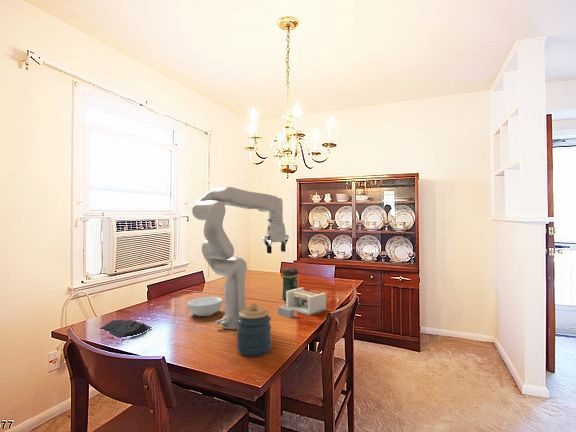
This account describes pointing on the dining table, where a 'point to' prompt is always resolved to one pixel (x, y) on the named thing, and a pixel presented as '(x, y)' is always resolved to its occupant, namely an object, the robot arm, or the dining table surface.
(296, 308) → the peg stand
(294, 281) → the coffee jar
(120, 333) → the dark slate chunk
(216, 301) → the cereal bowl
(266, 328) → the canister
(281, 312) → the block
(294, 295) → the board
